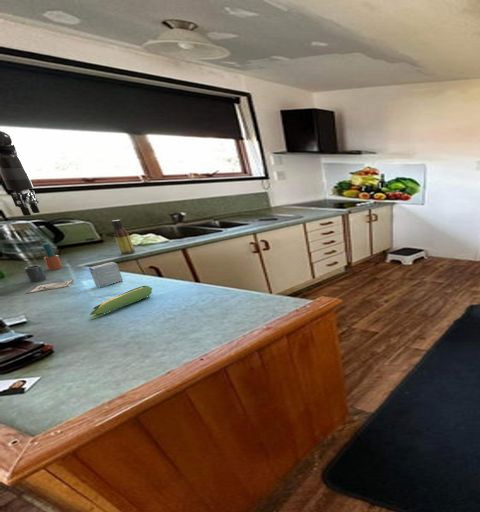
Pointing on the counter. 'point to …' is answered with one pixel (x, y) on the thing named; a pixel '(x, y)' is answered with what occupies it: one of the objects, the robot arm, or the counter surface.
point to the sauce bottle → (122, 238)
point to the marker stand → (35, 273)
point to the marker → (48, 250)
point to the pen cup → (53, 262)
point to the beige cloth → (51, 286)
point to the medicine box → (105, 274)
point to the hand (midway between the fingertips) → (32, 214)
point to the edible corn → (121, 300)
